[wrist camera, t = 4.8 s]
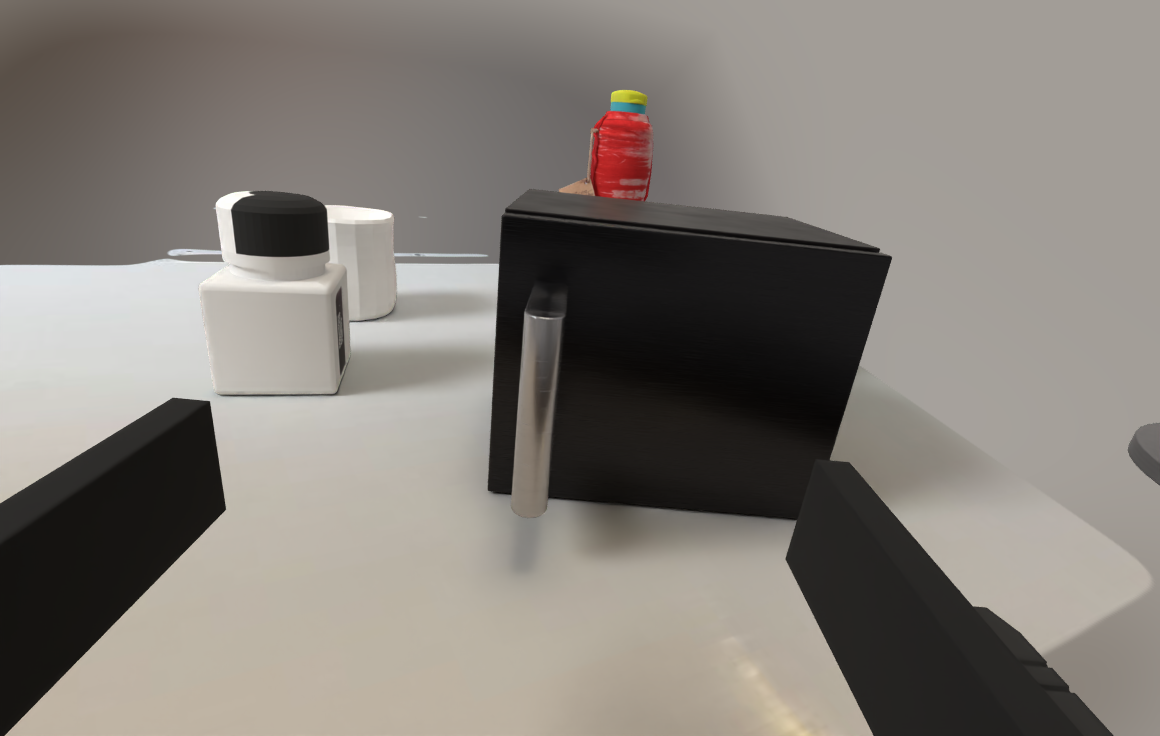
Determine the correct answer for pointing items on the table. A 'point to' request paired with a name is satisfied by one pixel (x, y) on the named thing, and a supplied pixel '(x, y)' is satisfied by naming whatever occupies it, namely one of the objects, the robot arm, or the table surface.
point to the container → (275, 299)
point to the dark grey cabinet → (678, 218)
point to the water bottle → (619, 151)
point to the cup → (364, 258)
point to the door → (671, 364)
